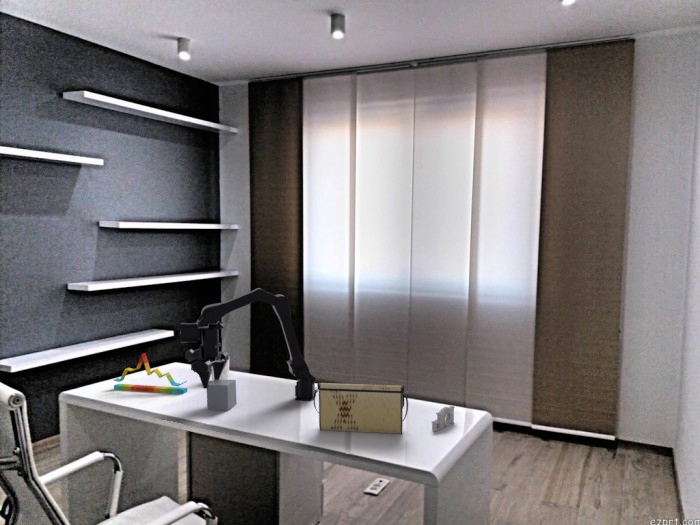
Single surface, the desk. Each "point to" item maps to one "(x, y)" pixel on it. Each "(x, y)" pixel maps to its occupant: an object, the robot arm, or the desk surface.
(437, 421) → the garden wall model
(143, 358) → the chart
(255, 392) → the desk surface
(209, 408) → the matte grey cube
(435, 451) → the desk surface
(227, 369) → the white cup
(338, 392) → the clutch purse
